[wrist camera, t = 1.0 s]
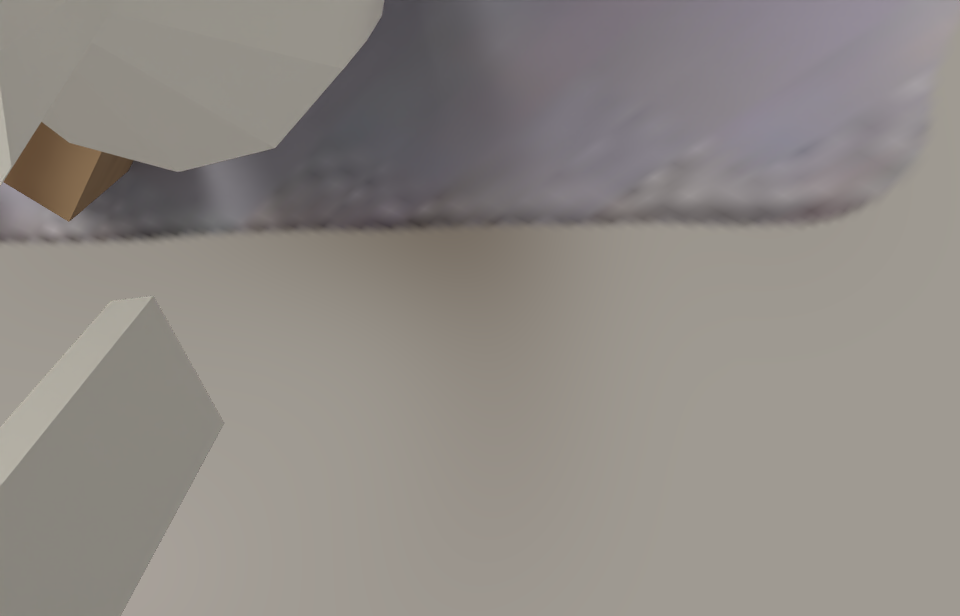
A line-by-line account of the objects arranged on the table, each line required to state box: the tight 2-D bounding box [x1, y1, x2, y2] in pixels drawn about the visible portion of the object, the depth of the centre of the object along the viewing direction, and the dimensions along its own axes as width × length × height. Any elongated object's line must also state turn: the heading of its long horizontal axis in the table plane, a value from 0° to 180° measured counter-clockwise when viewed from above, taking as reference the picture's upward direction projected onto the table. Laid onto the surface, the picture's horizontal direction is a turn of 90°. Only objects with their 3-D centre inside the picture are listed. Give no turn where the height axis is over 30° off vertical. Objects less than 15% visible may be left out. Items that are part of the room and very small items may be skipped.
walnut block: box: [3, 122, 133, 221], centre depth 37 cm, size 6×6×6 cm
